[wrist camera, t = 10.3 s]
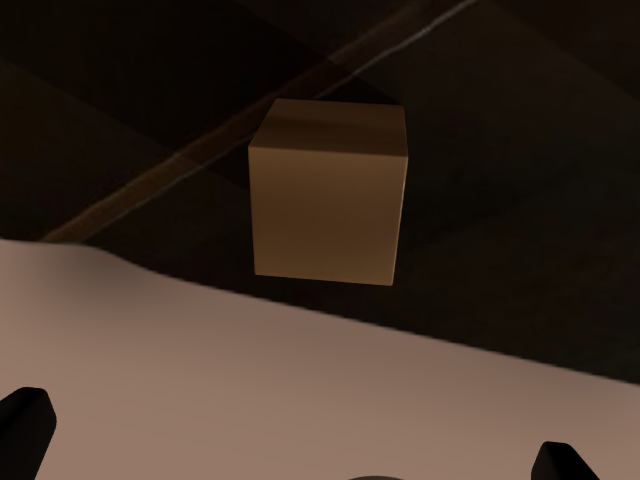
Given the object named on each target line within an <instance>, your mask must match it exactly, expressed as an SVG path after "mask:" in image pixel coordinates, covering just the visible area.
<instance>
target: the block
mask: <svg viewBox="0 0 640 480" xmlns="http://www.w3.org/2000/svg"><path fill="white" fill-rule="evenodd" d="M248 157H249V175H250V194H251V212H252V230H253V248H254V267H255V274H256V275H269V276H281V277H293V278H305V279H317V280H329V281H341V282H353V283H366V284H378V285H390V286H391V285H392V284H393V276H394V268H395V260H396V252H397V244H398V236H399V228H400V220H401V212H402V204H403V195H404V187H405V179H406V171H407V163H408V150H407V140H406V129H405V119H404V108H403V106H402V105H387V104H369V103H351V102H333V101H315V100H297V99H280V98H277V99H275V101H274V103H273V105H272V106H271V108H270V110H269V112H268V113H267V115H266V117H265V118H264V120H263V122H262V124H261V125H260V127H259V129H258V130H257V132H256V134H255V136H254V137H253V139H252V141H251V142H250V144H249V146H248Z"/></svg>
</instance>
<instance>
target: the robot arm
mask: <svg viewBox="0 0 640 480" xmlns="http://www.w3.org/2000/svg"><path fill="white" fill-rule="evenodd" d="M56 423H57V421H56V414H55V412H54V409H53V406H52V404H51V401H50V398H49V396H48V393H47V392H46V391H45V390H44V389H41V388H33V387H22V388H20V389H18V390H16V391H14V392H13V393H11V394H10V395H8V396H7V397H5V398H4V399H2V400H1V401H0V480H34V479H35V477H36V475H37V472H38V470H39V467H40V465H41V463H42V460H43V458H44V455H45V453H46V450H47V448H48V446H49V443H50V441H51V439H52V436H53V434H54V431H55V428H56ZM531 480H600V479H599V478H598V477H597V476H596V474H595V473H594V472H593V471H592V470H591V469H590V467H589V466H588V465H587V464H586V463H585V461H584V460H583V459H582V458H581V457H580V455H579V454H578V453H577V452H576V451H575V450H574V449H573V448H572V447H571V446H570V445H569V444H566V443H559V442H549V441H546V442H544V443H543V444H542V446H541V448H540V451H539V453H538V456H537V458H536V460H535V463H534V466H533V468H532V472H531Z"/></svg>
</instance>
